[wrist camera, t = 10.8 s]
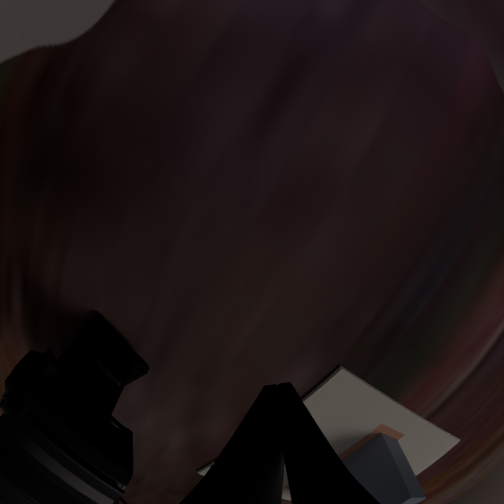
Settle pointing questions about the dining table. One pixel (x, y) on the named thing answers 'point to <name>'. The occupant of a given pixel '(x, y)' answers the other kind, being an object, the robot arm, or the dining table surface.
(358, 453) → the t block
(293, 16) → the dining table surface
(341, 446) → the t mat
